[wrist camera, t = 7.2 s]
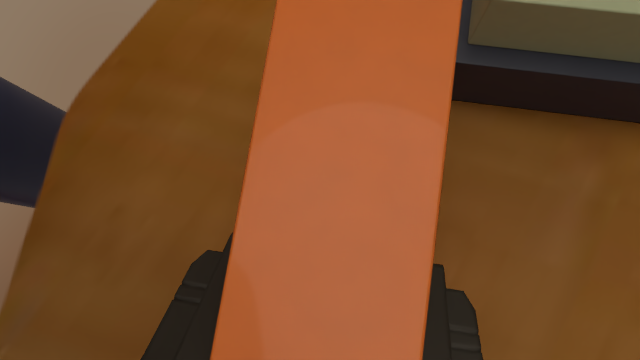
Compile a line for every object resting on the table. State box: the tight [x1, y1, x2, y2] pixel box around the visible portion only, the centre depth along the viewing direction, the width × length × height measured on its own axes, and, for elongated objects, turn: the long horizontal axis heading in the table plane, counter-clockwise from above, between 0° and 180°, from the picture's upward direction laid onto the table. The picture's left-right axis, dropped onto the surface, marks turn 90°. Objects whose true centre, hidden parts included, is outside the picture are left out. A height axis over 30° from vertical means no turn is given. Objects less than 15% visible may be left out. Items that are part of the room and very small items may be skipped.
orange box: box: [210, 0, 463, 360], centre depth 17 cm, size 4×14×18 cm, turn 171°
